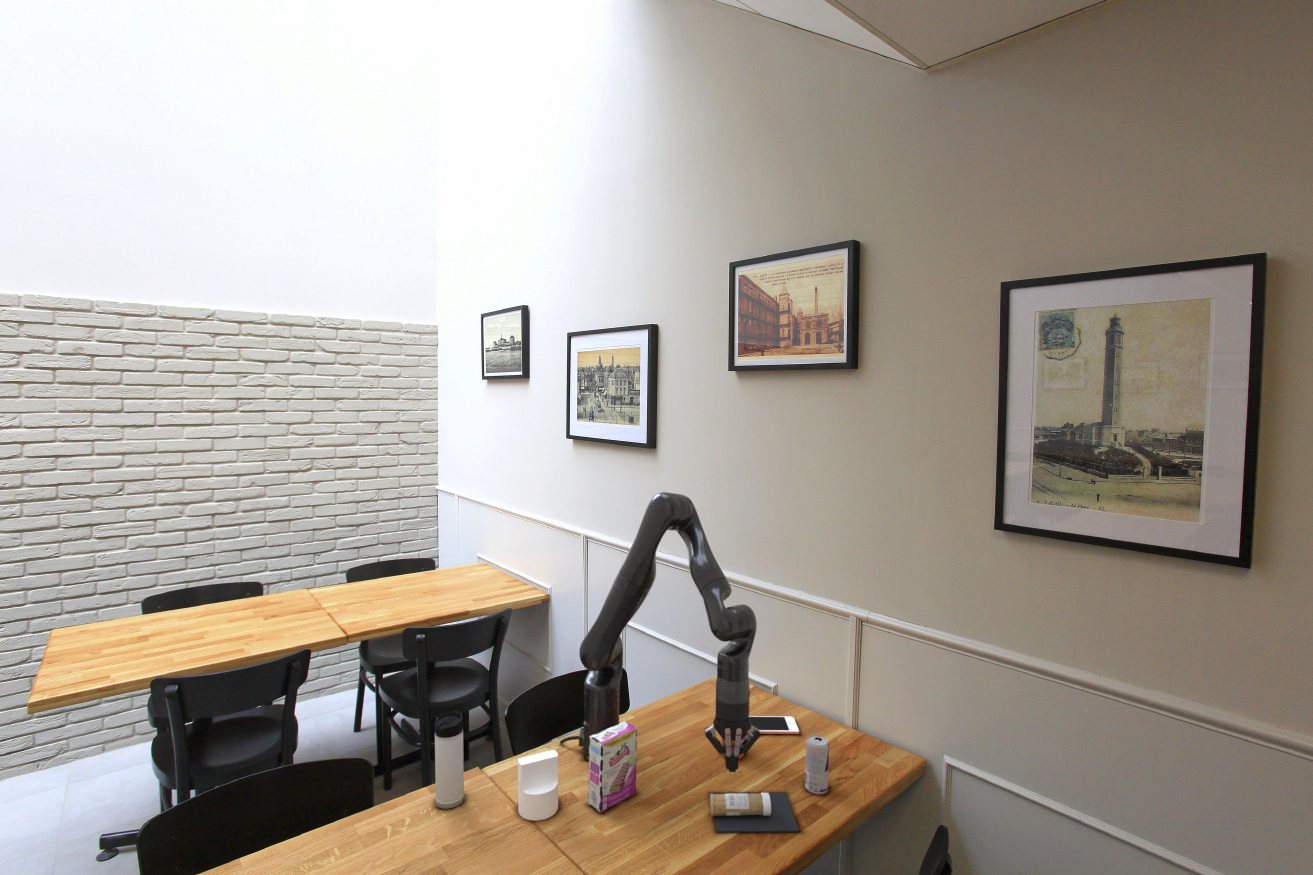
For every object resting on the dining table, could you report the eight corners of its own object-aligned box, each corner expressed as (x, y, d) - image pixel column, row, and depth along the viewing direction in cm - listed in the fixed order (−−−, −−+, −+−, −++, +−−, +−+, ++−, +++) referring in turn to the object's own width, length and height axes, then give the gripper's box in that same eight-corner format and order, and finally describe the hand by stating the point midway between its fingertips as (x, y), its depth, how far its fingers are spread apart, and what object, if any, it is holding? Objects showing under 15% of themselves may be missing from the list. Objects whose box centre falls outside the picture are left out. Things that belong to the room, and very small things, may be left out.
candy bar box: (601, 814, 147) (601, 744, 146) (587, 804, 151) (587, 735, 150) (637, 794, 155) (638, 726, 154) (623, 785, 159) (624, 719, 158)
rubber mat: (716, 832, 141) (716, 830, 141) (710, 793, 155) (710, 792, 155) (799, 832, 142) (799, 830, 142) (785, 793, 156) (785, 791, 155)
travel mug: (470, 795, 154) (469, 712, 153) (452, 811, 148) (451, 725, 147) (447, 789, 156) (447, 708, 155) (429, 805, 150) (428, 721, 149)
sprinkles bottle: (710, 821, 145) (771, 820, 145) (711, 804, 144) (772, 804, 144) (709, 804, 150) (767, 803, 150) (709, 788, 149) (768, 787, 149)
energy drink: (829, 785, 159) (830, 737, 158) (825, 797, 154) (826, 747, 153) (807, 779, 161) (808, 732, 161) (803, 791, 156) (803, 742, 156)
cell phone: (799, 734, 183) (799, 731, 183) (735, 733, 183) (735, 730, 183) (793, 719, 192) (793, 716, 192) (732, 718, 192) (732, 715, 192)
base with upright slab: (524, 824, 143) (524, 771, 143) (513, 802, 151) (513, 752, 151) (563, 813, 148) (563, 761, 147) (550, 792, 156) (550, 743, 155)
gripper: (759, 687, 150) (758, 760, 151) (701, 687, 149) (701, 761, 150) (765, 702, 142) (764, 779, 143) (704, 702, 142) (703, 779, 143)
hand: (731, 769), depth 147 cm, fingers closed
